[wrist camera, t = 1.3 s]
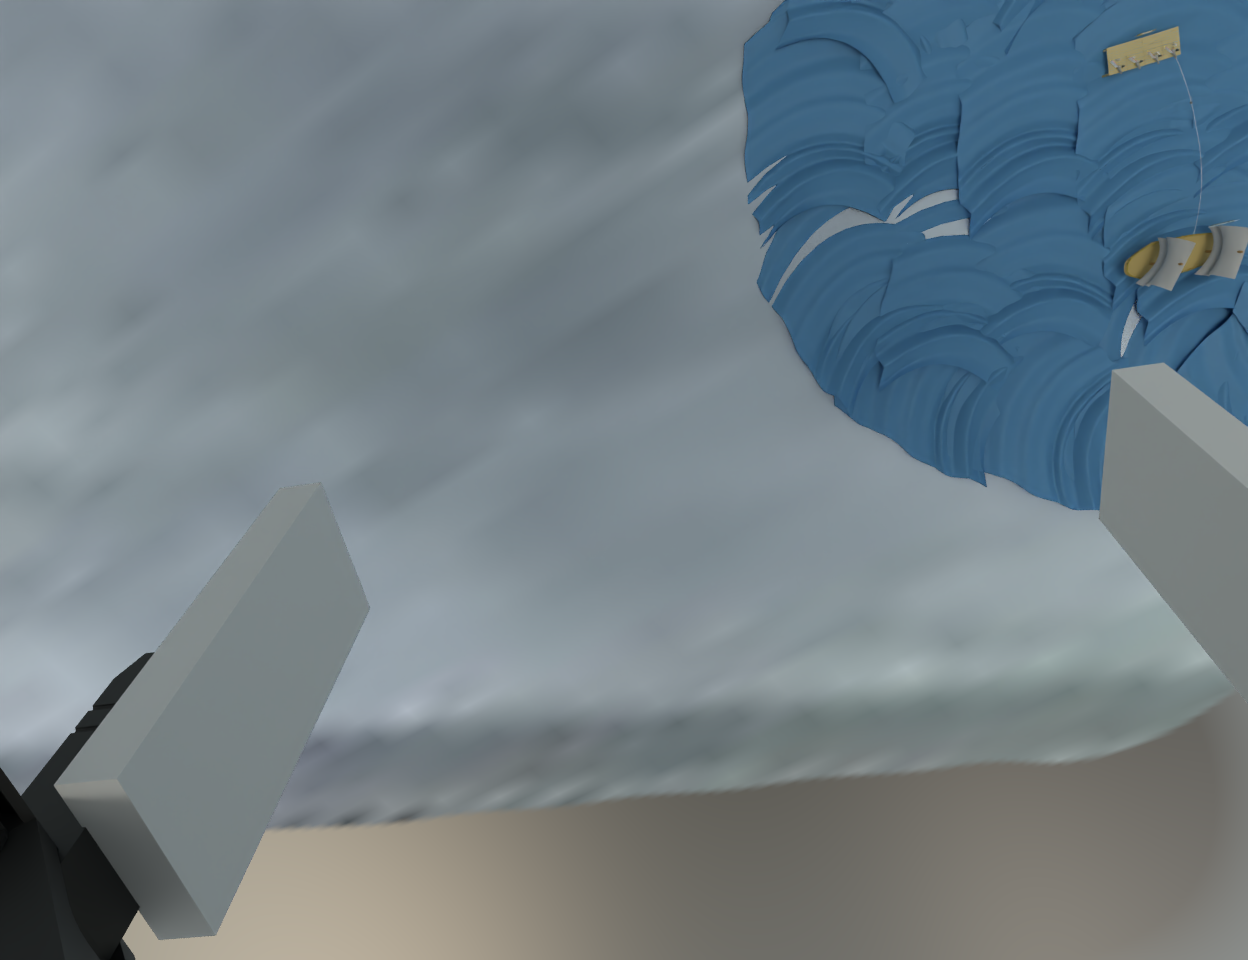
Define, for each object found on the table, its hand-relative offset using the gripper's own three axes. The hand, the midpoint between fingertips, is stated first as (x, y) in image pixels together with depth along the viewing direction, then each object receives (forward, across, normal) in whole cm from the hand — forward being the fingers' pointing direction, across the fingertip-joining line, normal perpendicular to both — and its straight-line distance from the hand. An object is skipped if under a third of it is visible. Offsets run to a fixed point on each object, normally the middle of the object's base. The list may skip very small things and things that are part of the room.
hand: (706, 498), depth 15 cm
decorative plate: (+25, +17, -2) cm, 31 cm away
